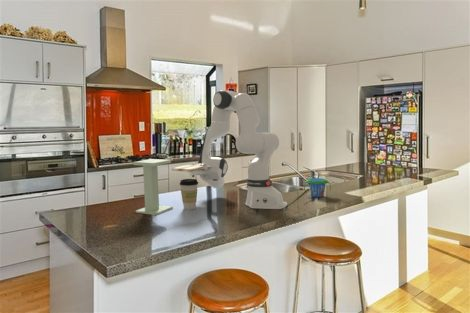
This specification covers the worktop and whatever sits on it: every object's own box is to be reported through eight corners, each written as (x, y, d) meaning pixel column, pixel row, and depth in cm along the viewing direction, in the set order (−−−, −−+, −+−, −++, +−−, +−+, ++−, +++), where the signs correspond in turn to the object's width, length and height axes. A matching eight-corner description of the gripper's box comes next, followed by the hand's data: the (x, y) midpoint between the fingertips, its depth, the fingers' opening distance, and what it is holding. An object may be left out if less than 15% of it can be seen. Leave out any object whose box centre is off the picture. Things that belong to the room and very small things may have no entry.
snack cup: (302, 197, 219) (302, 180, 218) (305, 193, 229) (305, 177, 228) (329, 199, 214) (330, 181, 212) (331, 195, 223) (331, 178, 222)
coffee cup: (195, 210, 193) (195, 182, 191) (177, 210, 195) (176, 181, 193) (201, 206, 202) (200, 178, 201) (183, 205, 204) (183, 178, 202)
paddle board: (212, 166, 207) (212, 163, 207) (192, 171, 188) (192, 169, 188) (193, 165, 212) (193, 162, 212) (172, 170, 193) (172, 168, 193)
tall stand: (172, 208, 198) (171, 159, 195) (156, 215, 186) (154, 163, 183) (152, 206, 204) (150, 158, 201) (135, 212, 191) (133, 162, 188)
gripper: (193, 168, 221) (182, 158, 209) (224, 170, 212) (214, 160, 201) (191, 178, 219) (179, 169, 207) (222, 180, 210) (211, 171, 199)
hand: (196, 165), depth 204 cm, fingers closed on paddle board, 4 cm apart
